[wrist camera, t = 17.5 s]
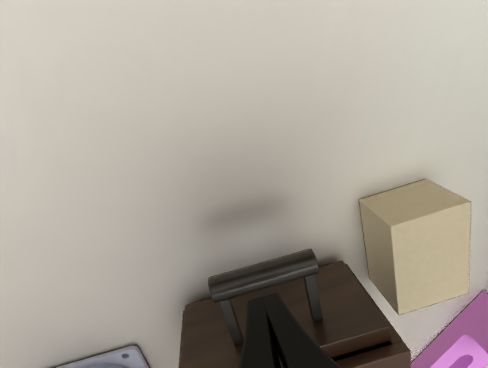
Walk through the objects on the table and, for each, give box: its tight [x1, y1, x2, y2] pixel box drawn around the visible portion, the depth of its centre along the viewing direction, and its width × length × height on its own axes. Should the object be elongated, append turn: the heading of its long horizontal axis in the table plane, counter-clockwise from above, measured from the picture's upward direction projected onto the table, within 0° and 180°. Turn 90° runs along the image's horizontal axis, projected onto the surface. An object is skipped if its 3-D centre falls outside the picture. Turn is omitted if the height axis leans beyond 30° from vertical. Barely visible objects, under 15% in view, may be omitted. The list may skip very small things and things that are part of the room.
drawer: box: [181, 249, 391, 368], centre depth 21 cm, size 18×12×6 cm, turn 13°
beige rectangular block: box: [359, 179, 471, 315], centre depth 21 cm, size 5×8×4 cm
